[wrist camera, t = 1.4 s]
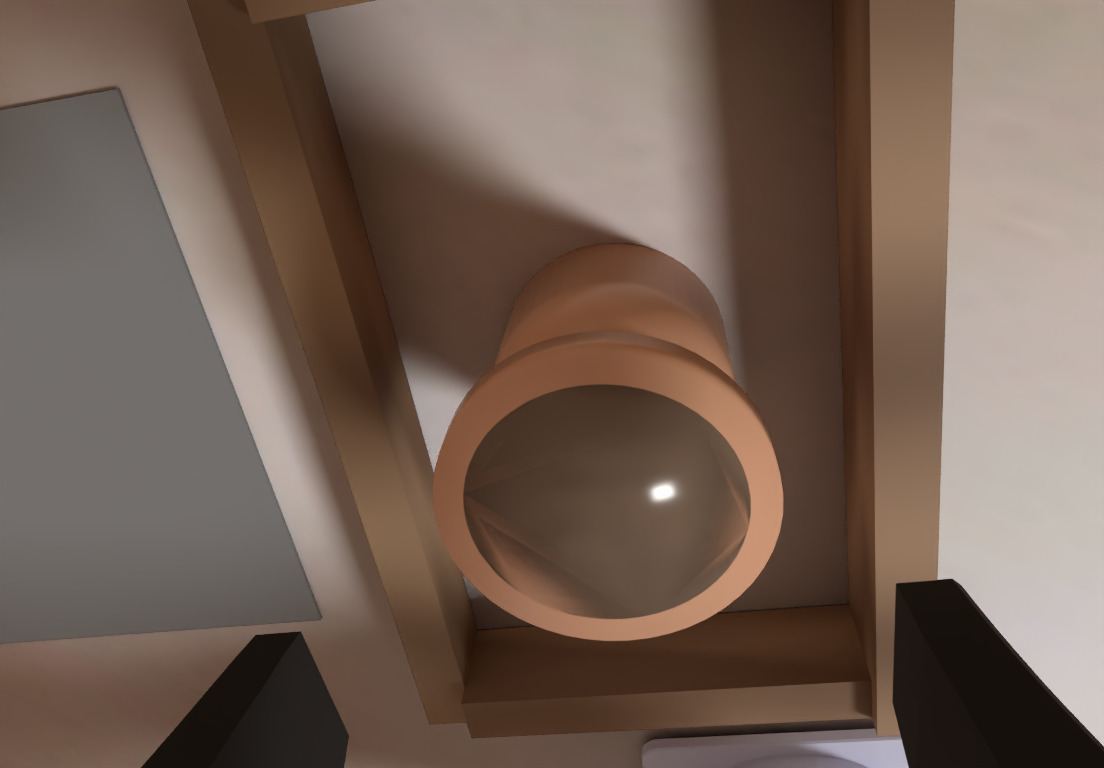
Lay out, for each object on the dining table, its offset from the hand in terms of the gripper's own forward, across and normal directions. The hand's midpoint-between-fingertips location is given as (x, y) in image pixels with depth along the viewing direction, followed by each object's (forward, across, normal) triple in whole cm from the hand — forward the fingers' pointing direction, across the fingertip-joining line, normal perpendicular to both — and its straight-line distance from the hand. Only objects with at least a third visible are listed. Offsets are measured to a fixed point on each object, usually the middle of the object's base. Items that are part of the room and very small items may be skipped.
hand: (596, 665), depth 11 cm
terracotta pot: (+10, 0, +1) cm, 10 cm away
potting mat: (+10, +14, +1) cm, 17 cm away
